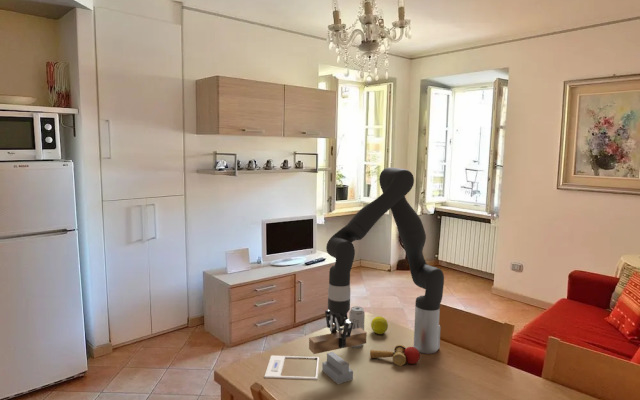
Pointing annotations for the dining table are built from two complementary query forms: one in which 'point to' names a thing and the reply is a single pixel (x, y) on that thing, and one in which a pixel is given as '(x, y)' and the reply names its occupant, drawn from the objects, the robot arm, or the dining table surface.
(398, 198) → the robot arm
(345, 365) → the fulcrum
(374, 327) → the tennis ball
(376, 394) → the dining table surface
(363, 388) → the dining table surface
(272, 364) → the photo frame
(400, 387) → the dining table surface
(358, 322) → the energy drink can
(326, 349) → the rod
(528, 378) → the dining table surface
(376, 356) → the kendama
